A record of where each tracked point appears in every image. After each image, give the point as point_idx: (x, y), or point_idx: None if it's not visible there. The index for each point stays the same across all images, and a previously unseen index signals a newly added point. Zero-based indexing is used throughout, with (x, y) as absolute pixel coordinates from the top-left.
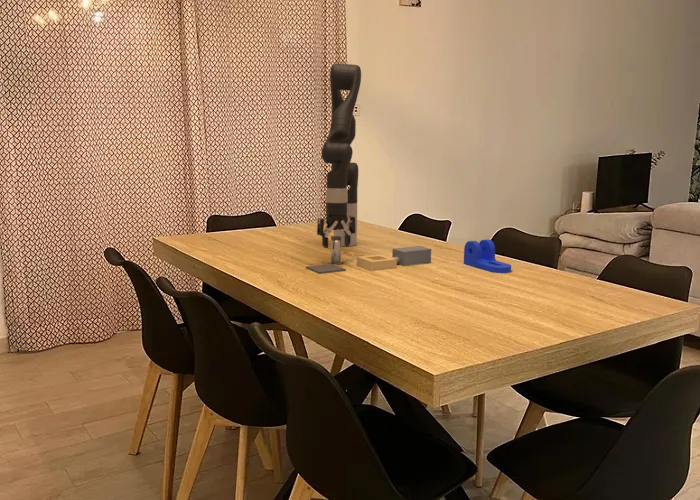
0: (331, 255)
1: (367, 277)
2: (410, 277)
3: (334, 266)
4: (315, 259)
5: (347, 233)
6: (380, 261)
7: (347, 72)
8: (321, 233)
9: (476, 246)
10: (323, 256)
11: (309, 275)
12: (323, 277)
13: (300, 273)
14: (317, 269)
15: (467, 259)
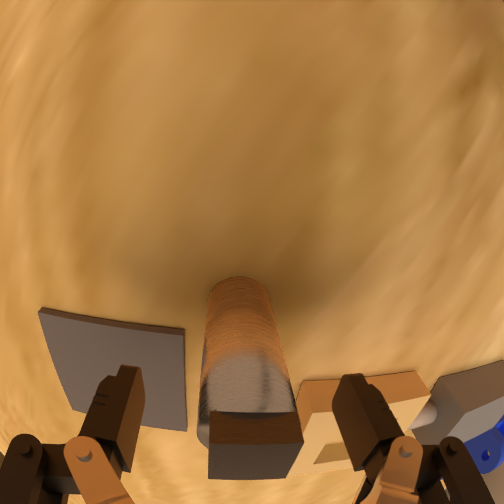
0: (205, 330)
1: (203, 480)
2: (299, 495)
3: (164, 387)
4: (197, 112)
5: (357, 491)
6: (318, 472)
7: None
8: (50, 489)
9: (481, 472)
10: (315, 59)
11: (40, 397)
12: (78, 432)
13: (16, 361)
14: (72, 384)
15: (481, 437)
